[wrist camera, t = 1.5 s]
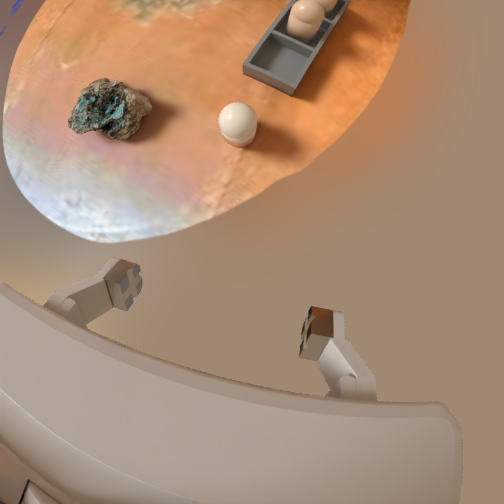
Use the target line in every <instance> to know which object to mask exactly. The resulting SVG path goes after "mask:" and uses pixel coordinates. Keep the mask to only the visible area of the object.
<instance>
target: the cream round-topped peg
mask: <svg viewBox="0 0 504 504" xmlns="http://www.w3.org/2000/svg"><path fill="white" fill-rule="evenodd" d="M257 121H258V119H257V114H256V112H255V110H254V109H253V108H252V107H251V106H250V105H248V104H246V103H242V102H234V103H231V104H229V105H227V106H226V107H224V108H223V109H222V111H221V113H220V115H219V127H220V129H221V131H222V134H223V136H224V139H225V140H226V142H227V143H228V144H230V145H231V146H234V147H244V146H247V145H249V144H250V143H251V142H252V141H253V139H254V138H255V134H256V128H257Z"/></svg>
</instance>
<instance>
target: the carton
mask: <svg viewBox="0 0 504 504" xmlns="http://www.w3.org/2000/svg"><path fill="white" fill-rule="evenodd" d="M349 3H350V1H348V0H291V1H290V2H289V4H288V5H287V6H286V7H285V8H284V10H283V11H282V12H281V13H280V15H279V16H278V17H277V18H276V20H275V21H274V22H273V24H272V25H271V26H270V27H269V29H268V30H267V31H266V33H265V34H264V35H263V37H262V38H261V39H260V41H259V42H258V44H257V45H256V46H255V48H254V49H253V51H252V52H251V53H250V55H249V56H248V58H247V59H246V61H245V62H244V63H243V74H244V75H246V76H249V77H251V78H253V79H256V80H258V81H260V82H262V83H265V84H267V85H269V86H271V87H273V88H275V89H277V90H279V91H281V92H283V93H285V94H287V95H289V96H291V97H292V95H293V93H294V92H295V90H296V88H297V87H298V85H299V83H300V82H301V80H302V78H303V77H304V75H305V73H306V72H307V70H308V68H309V67H310V65H311V63H312V62H313V60H314V59H315V57H316V55H317V54H318V52H319V50H320V49H321V47H322V46H323V44H324V43H325V41H326V39H327V38H328V36H329V35H330V33H331V32H332V30H333V28H334V27H335V25H336V24H337V22H338V21H339V19H340V18H341V16H342V15H343V13H344V12H345V10H346V8H347V7H348V5H349Z"/></svg>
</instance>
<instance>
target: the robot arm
mask: <svg viewBox="0 0 504 504" xmlns="http://www.w3.org/2000/svg"><path fill="white" fill-rule="evenodd" d="M139 272H140V266H139V265H138V264H135V263H132V262H129V261H126V260H123V259H119V258H116V257H112V258H110V259H109V260H108V261H107V263H106V264H105V265H104V266H103V267H102V268H101V269H100V270H99V272H98V273H97V274H96V275H95V276H90V277H88V278H85V279H83V280H80V281H78V282H76V283H73V284H71V285H69V286H66V287H64V288H62V289H60V290H57V291H55V293H54V294H53V295H52V296H51V297H50V299H49V300H48V301H47V302H46V303H45V305H44V306H42V305H40V304H38V303H36V302H35V301H33V300H31V299H30V298H28V297H26V296H25V295H23V294H21V293H20V292H18V291H16V290H15V289H13V288H12V287H10V286H9V285H7V284H5V283H1V284H0V504H459V500H460V493H461V485H462V473H463V442H462V431H461V426H460V423H459V421H458V420H457V418H456V417H455V416H454V414H453V413H452V412H451V411H450V409H449V408H448V407H447V406H446V405H445V404H444V403H442V402H383V401H377V397H376V381H375V377H374V376H373V374H372V373H371V371H370V370H369V368H368V367H367V366H366V364H365V363H364V361H363V360H362V359H361V357H360V356H359V355H358V353H357V352H356V351H355V349H354V348H353V346H352V345H351V343H350V342H349V341H346V337H345V321H344V313H343V312H341V311H335V310H330V309H324V308H319V307H314V306H311V307H310V309H309V311H308V317H307V318H306V319H305V321H304V324H303V327H302V333H301V338H302V340H303V341H302V343H301V345H300V353H299V358H304V359H309V360H314V361H317V364H318V366H319V368H320V370H321V372H322V374H323V376H324V378H325V380H326V382H327V384H328V386H329V388H330V391H329V393H328V394H327V395H326V396H325V397H323V396H315V395H308V394H302V393H295V392H289V391H283V390H277V389H272V388H267V387H263V386H258V385H253V384H249V383H244V382H240V381H236V380H231V379H227V378H224V377H220V376H216V375H212V374H208V373H205V372H201V371H198V370H195V369H191V368H188V367H185V366H181V365H178V364H175V363H172V362H169V361H166V360H163V359H160V358H157V357H155V356H152V355H149V354H146V353H143V352H141V351H138V350H135V349H133V348H131V347H128V346H126V345H123V344H120V343H118V342H116V341H113V340H111V339H109V338H106V337H104V336H102V335H99V334H97V333H95V332H93V331H91V330H89V329H88V328H87V326H86V324H88V323H89V322H91V321H93V320H94V319H96V318H97V317H99V316H101V315H102V314H104V313H105V312H107V311H109V310H110V309H112V308H113V307H115V308H118V309H121V310H124V311H128V309H129V308H130V307H131V305H132V304H133V298H134V297H136V296H138V295H139V293H140V291H141V288H142V277H141V276H140V275H139Z"/></svg>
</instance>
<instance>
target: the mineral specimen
mask: <svg viewBox="0 0 504 504" xmlns="http://www.w3.org/2000/svg"><path fill="white" fill-rule="evenodd" d="M151 110H152V106H151V103H150V101H149V99H148V98H146V97H145V96H143V95H142V94H141V93H139V92H137V91H135V90H132V89H129V88H126V87H124V84H123V83H122V82H119V81H113V82H110V80H109V79H107V78H102V79H99V80H96V81H94V82H92V83H90V84H89V85H88V86H87V87H86V88H85V89H83V90H82V91H81V93H80V96H79V98H78V100H77V103H76V105H75V107H74V109H73V111H72V114H71V117H70V118H69V119H68V122H69V125H68V127H69V128H71V129H72V130H74V131H75V132H76V133H77V134H83V133H86V132H88V131H92V130H93V131H100V132H104V131H107V135H108V136H109V138H110V139H127V138H128V137H129V136H130V135H132V134H134V133H135V132H136V130H138V129H139V127H140V124H141V120H140V119H141V118H142V116H146V115H147V114H149V113H150V112H151Z"/></svg>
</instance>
